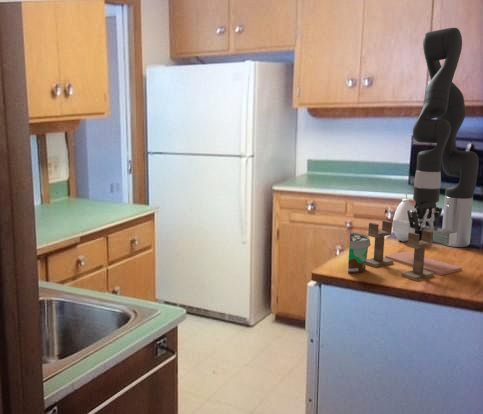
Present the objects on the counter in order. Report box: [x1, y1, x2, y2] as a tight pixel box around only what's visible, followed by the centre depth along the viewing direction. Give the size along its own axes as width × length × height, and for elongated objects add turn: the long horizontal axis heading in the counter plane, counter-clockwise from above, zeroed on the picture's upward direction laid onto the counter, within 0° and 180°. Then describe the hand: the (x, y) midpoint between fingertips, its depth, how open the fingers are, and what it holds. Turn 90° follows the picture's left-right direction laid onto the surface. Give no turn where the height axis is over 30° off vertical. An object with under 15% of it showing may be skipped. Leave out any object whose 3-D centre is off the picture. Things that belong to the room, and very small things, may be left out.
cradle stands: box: [366, 220, 435, 282], centre depth 161 cm, size 8×20×13 cm, turn 34°
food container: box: [347, 232, 371, 275], centre depth 161 cm, size 12×6×10 cm, turn 168°
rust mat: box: [384, 251, 463, 276], centre depth 169 cm, size 10×21×1 cm, turn 34°
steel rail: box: [392, 219, 457, 246], centre depth 167 cm, size 4×21×4 cm, turn 33°
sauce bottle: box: [392, 191, 414, 242], centre depth 196 cm, size 8×8×18 cm
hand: (422, 240), depth 168 cm, fingers closed on steel rail, 3 cm apart
